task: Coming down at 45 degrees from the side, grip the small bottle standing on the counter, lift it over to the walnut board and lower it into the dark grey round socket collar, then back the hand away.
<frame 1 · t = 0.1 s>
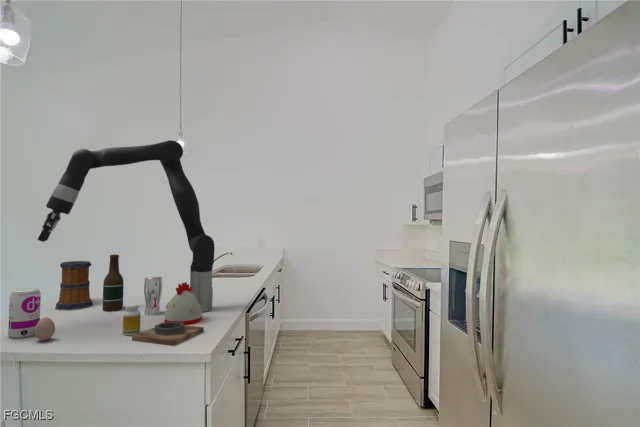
hand: (42, 240, 131), 31 cm above the countertop, tool tilted 20°, fingers open, 8 cm apart
beer glass: (152, 314, 155), on the countertop
beer bottle: (112, 310, 161), on the countertop
socket board: (169, 335, 125), on the countertop
supplement can: (24, 335, 124), on the countertop
egg: (44, 341, 118), on the countertop
mug: (76, 306, 168), on the countertop
kitchen timer: (183, 321, 144), on the countertop
supplement bottle: (131, 334, 127), on the countertop
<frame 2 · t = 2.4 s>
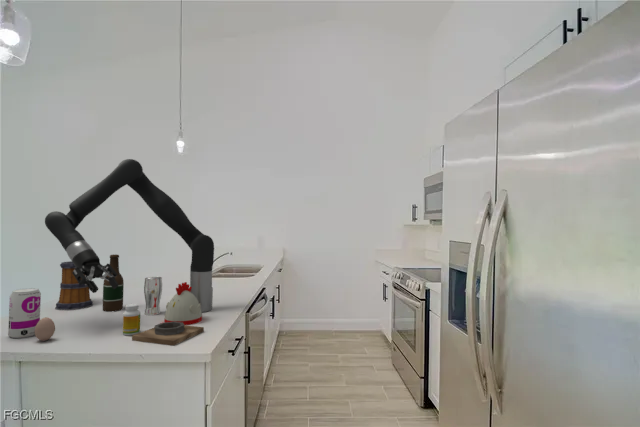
hand: (106, 289, 131), 14 cm above the countertop, tool tilted 45°, fingers open, 8 cm apart
nothing on the countertop moved.
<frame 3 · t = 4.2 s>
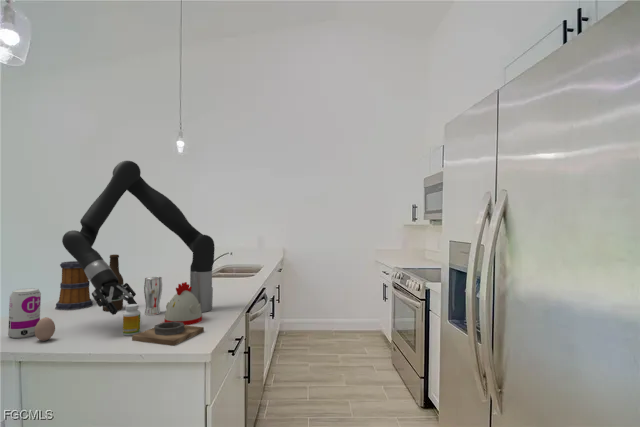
hand: (125, 310, 128), 8 cm above the countertop, tool tilted 45°, fingers open, 8 cm apart
nothing on the countertop moved.
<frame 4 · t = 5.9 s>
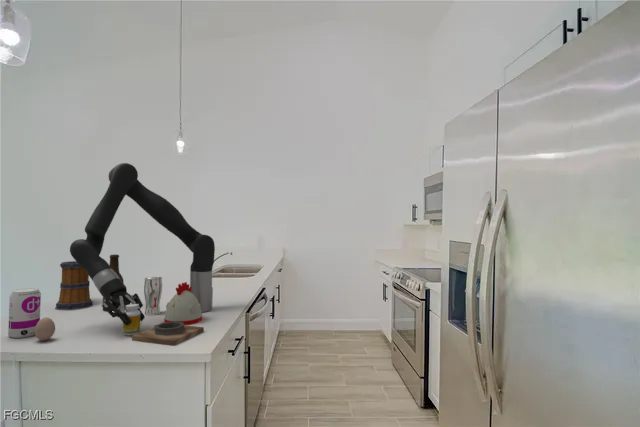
hand: (135, 321, 126), 4 cm above the countertop, tool tilted 45°, fingers closed on supplement bottle, 5 cm apart
supplement bottle: (131, 333, 127), on the countertop, touching gripper
everything else where it was.
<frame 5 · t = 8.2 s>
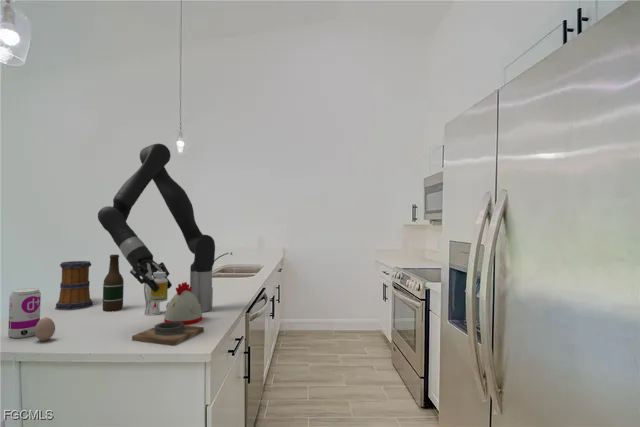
hand: (163, 288, 125), 16 cm above the countertop, tool tilted 45°, fingers closed on supplement bottle, 5 cm apart
supplement bottle: (158, 301, 126), point 11 cm above the countertop, touching gripper
everything else where it was.
when the fingers open (8 cm above the countertop, at t = 10.6 s): supplement bottle drops 2 cm, resting on socket board.
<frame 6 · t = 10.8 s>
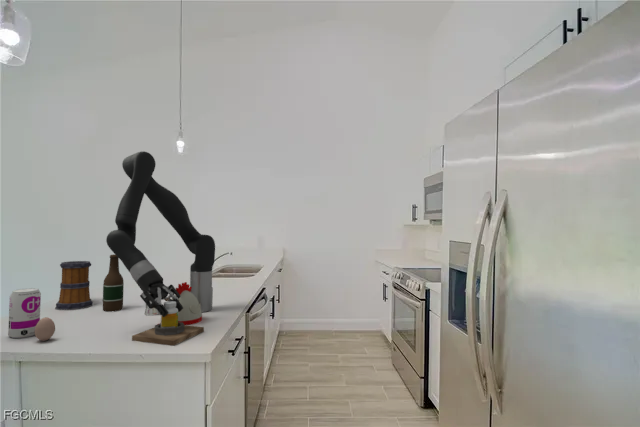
hand: (173, 312, 125), 8 cm above the countertop, tool tilted 45°, fingers open, 7 cm apart
supplement bottle: (169, 331, 125), point 1 cm above the countertop, touching socket board
everything else where it was.
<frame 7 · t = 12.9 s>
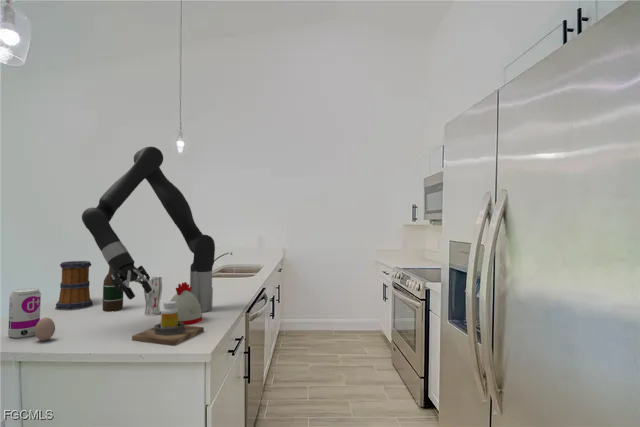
hand: (141, 295, 130), 13 cm above the countertop, tool tilted 35°, fingers open, 8 cm apart
nothing on the countertop moved.
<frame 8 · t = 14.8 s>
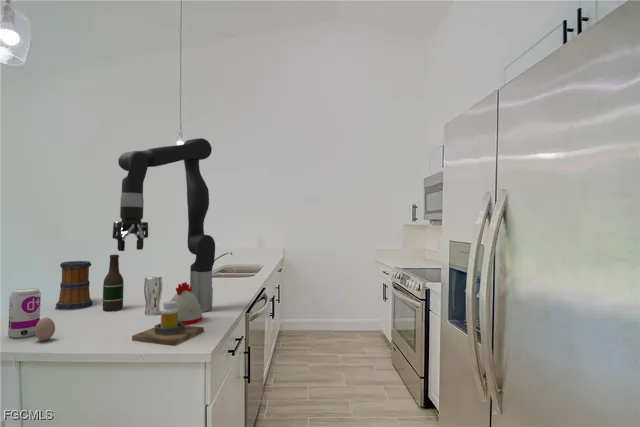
hand: (130, 250, 134), 28 cm above the countertop, tool pointing down, fingers open, 8 cm apart
nothing on the countertop moved.
at the end: supplement bottle 0.2 cm off-centre on the socket board, point 1.3 cm above the socket board's base; supplement bottle tilted 0°; the gripper is holding nothing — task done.
